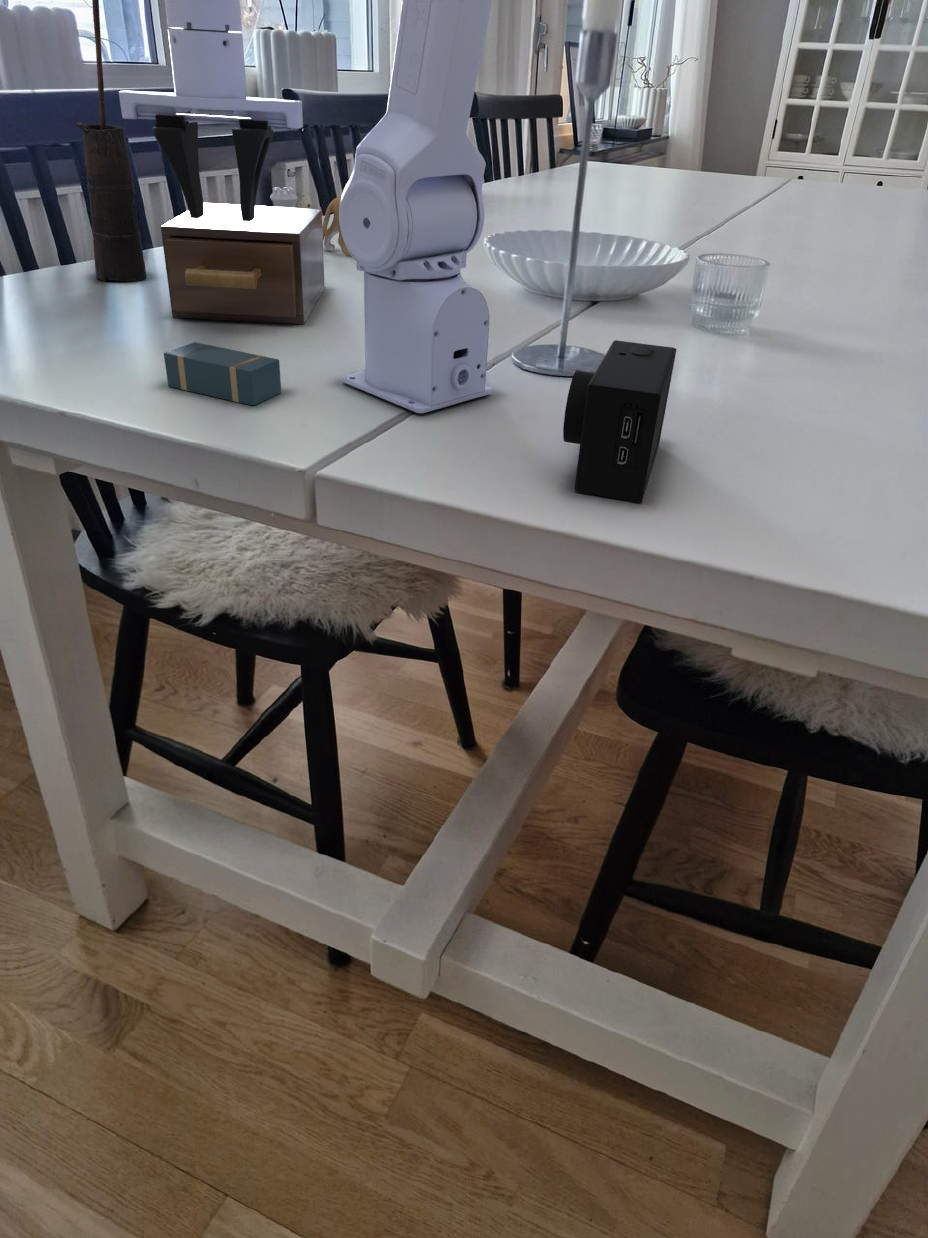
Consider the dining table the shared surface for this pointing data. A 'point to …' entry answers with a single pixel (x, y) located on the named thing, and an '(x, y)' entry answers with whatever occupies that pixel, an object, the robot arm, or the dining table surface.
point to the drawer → (232, 276)
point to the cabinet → (266, 226)
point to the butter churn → (111, 191)
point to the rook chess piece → (283, 197)
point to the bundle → (223, 373)
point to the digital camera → (619, 419)
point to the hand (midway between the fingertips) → (222, 218)
